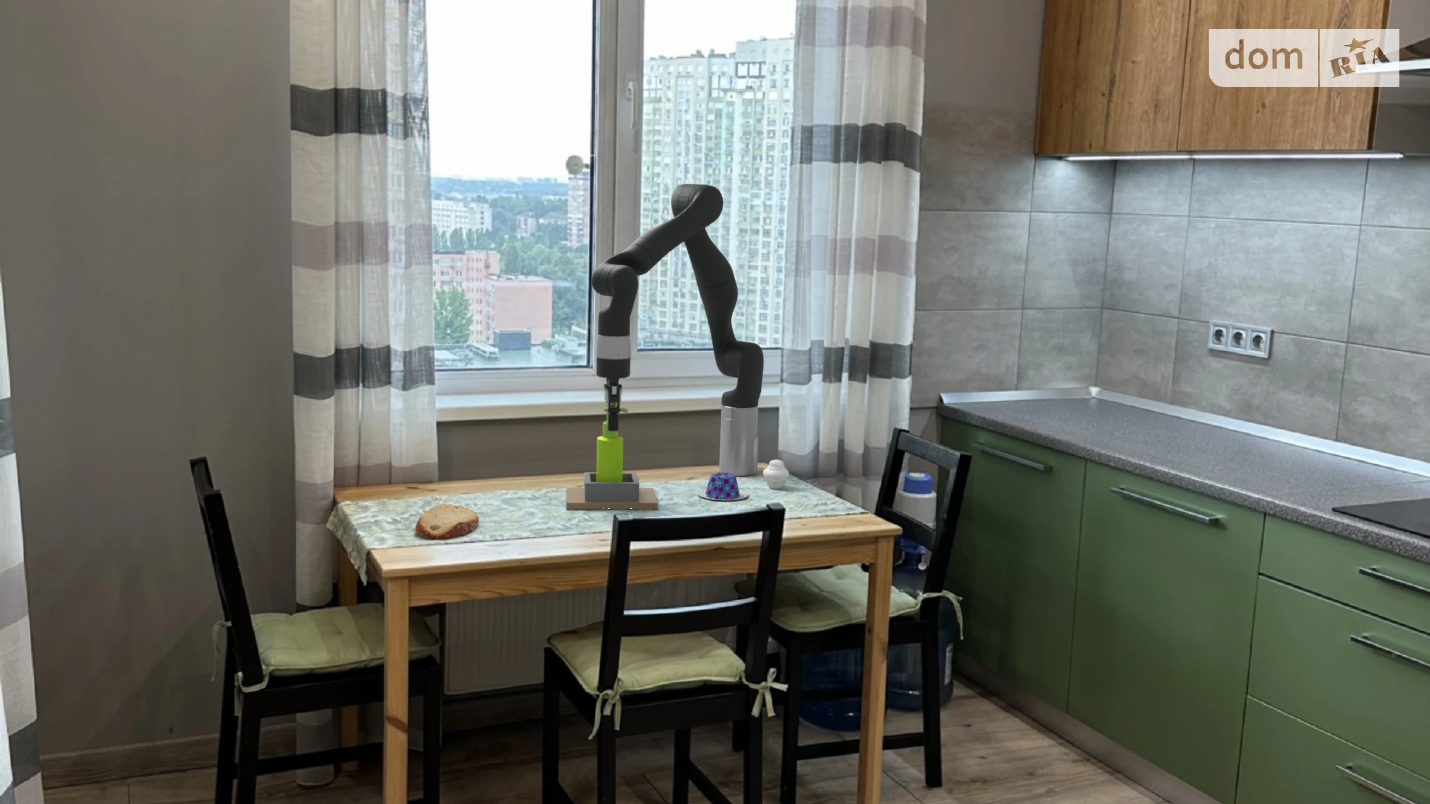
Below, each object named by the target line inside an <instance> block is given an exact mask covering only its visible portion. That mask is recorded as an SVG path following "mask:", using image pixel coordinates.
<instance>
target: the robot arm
mask: <svg viewBox="0 0 1430 804" xmlns="http://www.w3.org/2000/svg"><path fill="white" fill-rule="evenodd" d="M671 193H672V194H671V197H670V206H671V207H670V208H671V211H672V215H673V217H672V218H670V219H669V220H666V221H664V222H662V223H660V224H658V225H657V226H655V227H653V228H650V229H648V230H647V231H646V232H644V233H643V234H641V235H640V236H639V237H637V239H635V240H634V241H633V242H632V243H631V244H630V245H628V247H626V248H625V249H624V250H623V251H620V252H618V253H616V254H614V255H613V256H610V257H609V258H607V259H605V260H604V261H602V262H601V263H600V264H599V265H597V267H596V268H595V269H594V271H593V273H592V275H591V276H592V277H591V286H592V289H593V291H594V292H596V294H598V295H601V296H603V297H612V299H611V301H610V305H609V307H604V308H602V309H600V310H599V312H598V317H597V324H598V325H597V340H596V360H595V361H596V367H595V369H596V370H595V371H596V376H597V377H598V378H602V379H605V381H606V383H604V384H603V392H604V393H603V394H604V401H605V406H606V407H608V410H607V411H606V414H607V413H608V430H609V431H618V432H619V415H620V413H621V412H620V406H621V405H622V394H623V385H622V383H620V379H626V378H629V377H630V376H631V353H632V351H631V350H632V349H631V346H632V345H631V315H632V312H633V309H634V306H635V301H636V298H637V294H638V291H639V278H638V277H639V276H644V275H646V274H647V273H648V272H650V271H651V270H652V269H653V268H655V266H656V265H657V264H658V263H659V262H661V260H662V259H664V258H665V256H667V255H668V254H669V253H670V252H672V251H673V250H674V249H675V248H677V247H679V245H681V244H683V243H684V246H685V248H686V252H687V255H688V258H689V261H690V263H691V268H692V270H693V274H694V277H695V282H696V286H697V288H698V293H699V297H700V299H701V302H702V305H703V309H704V312H705V316H706V320H707V324H708V328H709V333H710V338H711V343H712V350H713V355H714V360H715V364H716V368H717V369H718V370H719V372H720V373H721V375H724V376H726V377H730V378H736V379H737V380H736V387H735V388H734V389H732V390H728V391H725V392H723V393H722V394H721V405H720V406H721V410H720V414H721V415H720V438H719V439H720V441H719V443H720V444H719V462H718V463H719V467H718V468H719V469H718V471H719V472H718V473H731V474H734V475H735V476H738V477H741V476H742V477H743V476H744V477H745V476H752V475H758V466H759V465H758V464H759V463H758V461H759V458H758V457H759V436H758V422H759V421H758V420H759V418H758V417H759V400H760V397H761V393H762V387H763V386H762V385H763V377H764V367H765V363H764V362H765V359H764V351H763V348H762V347H761V346H760V345H759V344H757V343H755V342H752V341H742V340H737V338H736V335H735V333H734V329H733V324H732V318H733V314H734V312H735V309H736V306H737V303H738V300H739V299H738V297H739V289H738V284H737V281H736V278H735V273H734V269H733V268H732V266H731V264H730V262H729V260H728V259H727V258H726V256H725V255H724V254H723V253H722V251H721V250H720V249H719V248H718V247H717V245H716V244H715V243H714V242H713V241H712V239H711V238H710V236H709V233H708V231H707V229H706V228H707V227H708V226H710V225H711V224H713V223H714V222H716V221H717V220H718V219H719V218H720V216H721V214H722V213H723V208H724V198H723V195H722V193H721V191H720V189H719V188H717V187H716V186H714V185H710V184H701V183H682V184H679V185H677V186H676V187H675V188H674V189H673V191H672V192H671Z"/></svg>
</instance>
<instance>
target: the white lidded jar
mask: <svg viewBox="0 0 1430 804" xmlns="http://www.w3.org/2000/svg"><path fill="white" fill-rule="evenodd" d="M762 474H763V477H764V480H765V482H766V484H767V486H768V488H769V489H773V490H780V489H782V488H783V487H784V485H785V484H786V482H787V480H788V477H789V475H790V473H789V469H786V466H785V464H784V461H783V460H781V459H777V458H776V459H772V460H770V461H769V462H768V466H767V467H766V468H765V469H764V470H763V472H762Z"/></svg>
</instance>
